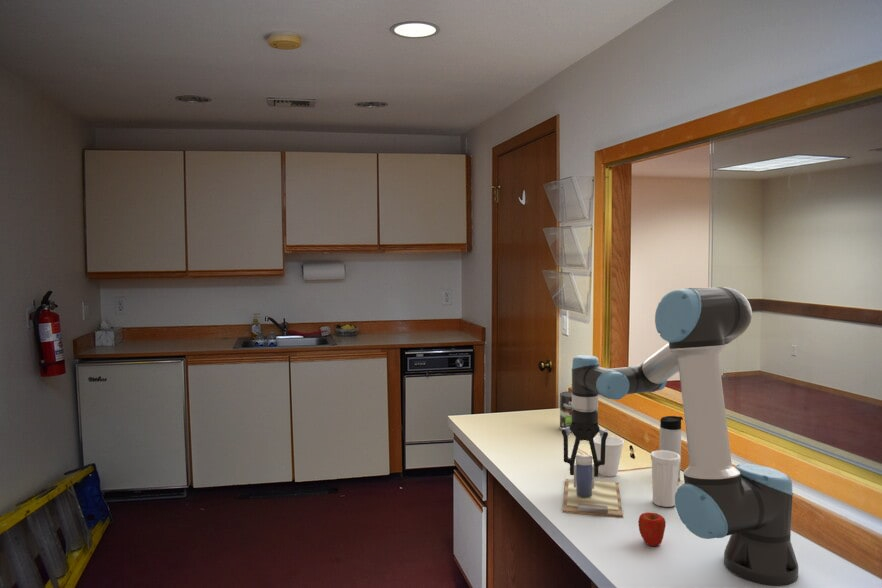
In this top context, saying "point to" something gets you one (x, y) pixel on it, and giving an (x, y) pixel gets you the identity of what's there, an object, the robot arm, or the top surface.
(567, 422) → the coffee can
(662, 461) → the cup
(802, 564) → the top surface
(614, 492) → the clipboard
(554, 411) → the top surface
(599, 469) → the cup
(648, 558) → the top surface
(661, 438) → the travel mug
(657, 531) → the apple
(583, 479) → the blue bottle
